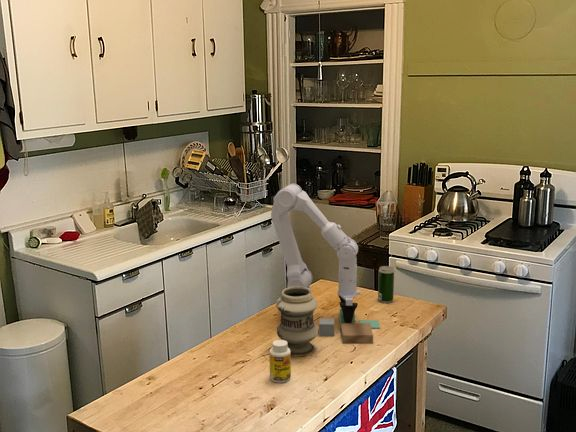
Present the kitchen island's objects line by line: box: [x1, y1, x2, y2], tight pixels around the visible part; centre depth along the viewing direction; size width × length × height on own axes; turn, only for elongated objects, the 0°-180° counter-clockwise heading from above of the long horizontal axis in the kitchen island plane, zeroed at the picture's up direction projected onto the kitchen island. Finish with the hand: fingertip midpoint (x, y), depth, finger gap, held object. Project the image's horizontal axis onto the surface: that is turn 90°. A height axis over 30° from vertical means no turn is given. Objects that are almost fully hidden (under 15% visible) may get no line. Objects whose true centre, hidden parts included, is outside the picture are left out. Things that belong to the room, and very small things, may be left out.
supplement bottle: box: [269, 339, 292, 383], centre depth 163 cm, size 6×6×10 cm
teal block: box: [339, 308, 356, 326], centre depth 199 cm, size 4×4×4 cm
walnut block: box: [340, 322, 374, 345], centre depth 189 cm, size 9×9×3 cm
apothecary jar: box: [275, 286, 319, 357], centre depth 180 cm, size 12×12×18 cm
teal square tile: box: [358, 319, 381, 330], centre depth 198 cm, size 6×6×1 cm
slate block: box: [318, 317, 335, 337], centre depth 192 cm, size 4×4×4 cm
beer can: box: [377, 265, 395, 304], centre depth 217 cm, size 5×5×12 cm
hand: (347, 318), depth 199 cm, fingers open, 7 cm apart
